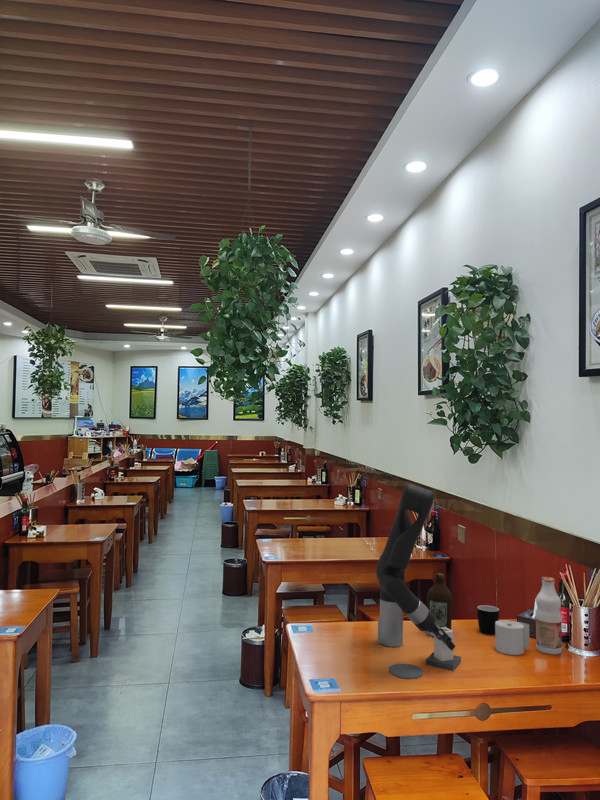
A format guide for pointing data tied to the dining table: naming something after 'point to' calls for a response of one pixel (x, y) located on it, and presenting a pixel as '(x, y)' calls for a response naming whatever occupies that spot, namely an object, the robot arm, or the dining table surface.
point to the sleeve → (443, 647)
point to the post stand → (443, 662)
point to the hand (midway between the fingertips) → (446, 644)
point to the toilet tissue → (511, 637)
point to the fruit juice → (548, 619)
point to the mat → (405, 671)
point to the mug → (487, 618)
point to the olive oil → (440, 602)
